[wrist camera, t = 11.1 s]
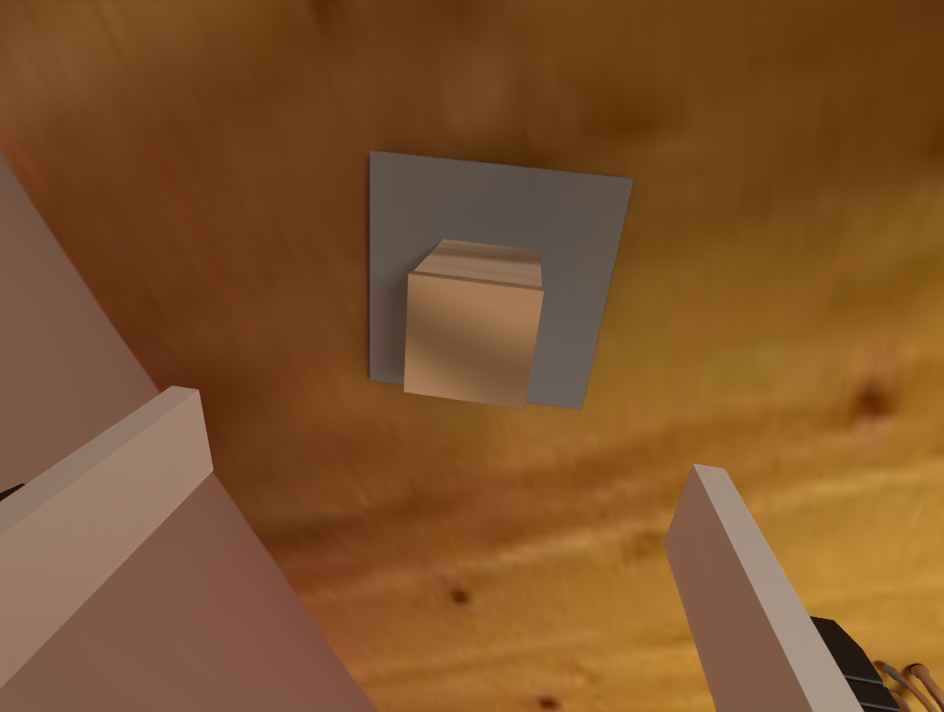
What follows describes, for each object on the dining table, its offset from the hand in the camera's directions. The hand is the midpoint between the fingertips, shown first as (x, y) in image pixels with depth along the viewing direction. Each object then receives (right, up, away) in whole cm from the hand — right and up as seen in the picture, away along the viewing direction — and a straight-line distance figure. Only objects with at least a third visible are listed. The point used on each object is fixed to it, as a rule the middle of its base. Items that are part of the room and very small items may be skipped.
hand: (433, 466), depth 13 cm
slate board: (+2, +7, +16) cm, 18 cm away
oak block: (+2, +7, +15) cm, 17 cm away
